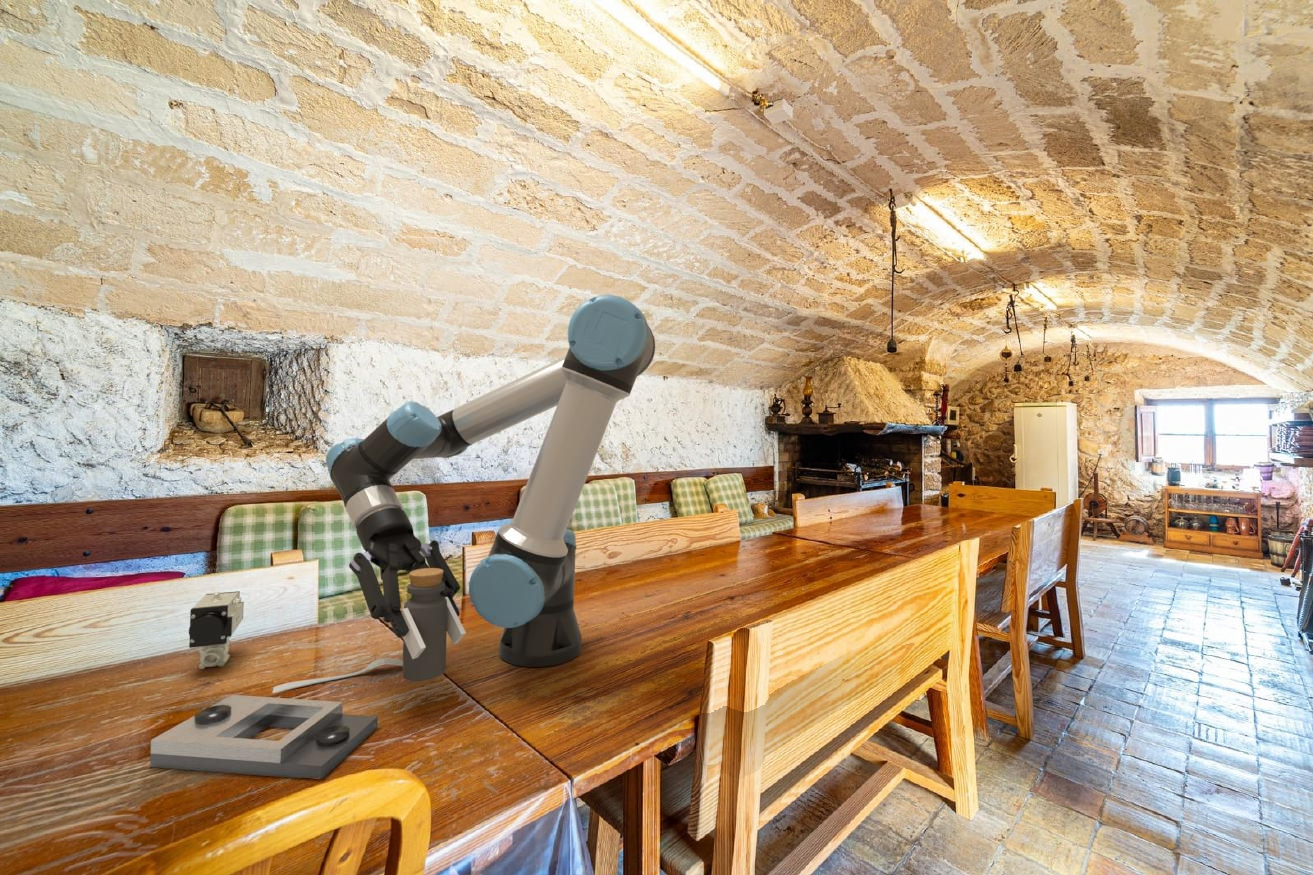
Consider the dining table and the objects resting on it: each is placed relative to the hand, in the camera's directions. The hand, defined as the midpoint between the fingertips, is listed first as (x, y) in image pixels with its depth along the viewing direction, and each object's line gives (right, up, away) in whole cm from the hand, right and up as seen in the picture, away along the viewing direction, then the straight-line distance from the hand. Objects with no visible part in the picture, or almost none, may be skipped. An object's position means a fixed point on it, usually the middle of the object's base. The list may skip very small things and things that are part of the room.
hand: (440, 645), depth 76 cm
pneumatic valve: (-43, -9, +13) cm, 46 cm away
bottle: (-3, -5, +2) cm, 6 cm away
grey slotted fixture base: (-18, -9, -9) cm, 22 cm away
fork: (-19, -10, +10) cm, 24 cm away
